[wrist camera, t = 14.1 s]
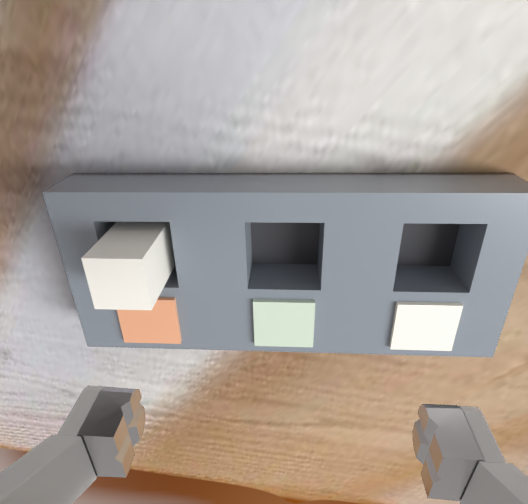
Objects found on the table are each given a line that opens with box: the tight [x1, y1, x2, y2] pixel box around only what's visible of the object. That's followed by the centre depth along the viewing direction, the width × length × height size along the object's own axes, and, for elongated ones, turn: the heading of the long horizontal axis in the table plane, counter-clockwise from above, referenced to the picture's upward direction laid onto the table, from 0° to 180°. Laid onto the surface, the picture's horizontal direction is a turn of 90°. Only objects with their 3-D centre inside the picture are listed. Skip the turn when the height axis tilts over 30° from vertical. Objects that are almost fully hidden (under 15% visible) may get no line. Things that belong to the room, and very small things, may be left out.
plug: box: [81, 222, 176, 310], centre depth 30 cm, size 4×4×8 cm
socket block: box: [42, 173, 528, 357], centre depth 32 cm, size 14×34×5 cm, turn 91°
